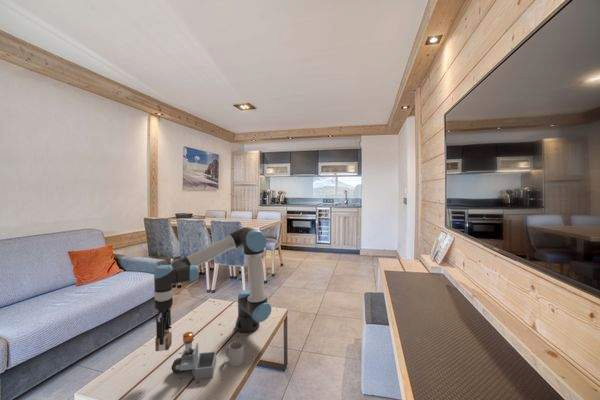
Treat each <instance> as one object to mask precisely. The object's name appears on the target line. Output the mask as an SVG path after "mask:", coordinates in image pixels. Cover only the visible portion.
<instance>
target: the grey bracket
mask: <svg viewBox="0 0 600 400" xmlns="http://www.w3.org/2000/svg"><path fill="white" fill-rule="evenodd" d="M198 357H199V343H198V342H196V344H195V347H194V348H192V355H185V349H183V352H182V354H181V357H178V358H176V359H174V361H173V362H172V364H171V371H172V372H173V373H175V374H181V373H182V372H184V371H187V370H188V371H189V370H192V371H191V372H192V376H193V377H195V366H196V363H197V360H198Z"/></svg>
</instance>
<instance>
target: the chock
mask: <svg viewBox="0 0 600 400" xmlns="http://www.w3.org/2000/svg"><path fill="white" fill-rule="evenodd" d="M172 334H173V333H172V331H169V332H165V344H166V350H165V351H169V349H170V348H171V346H172V342H173V341H172V337H173V336H172ZM155 352H160V351H159V339H157V338H156V337H155Z"/></svg>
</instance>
